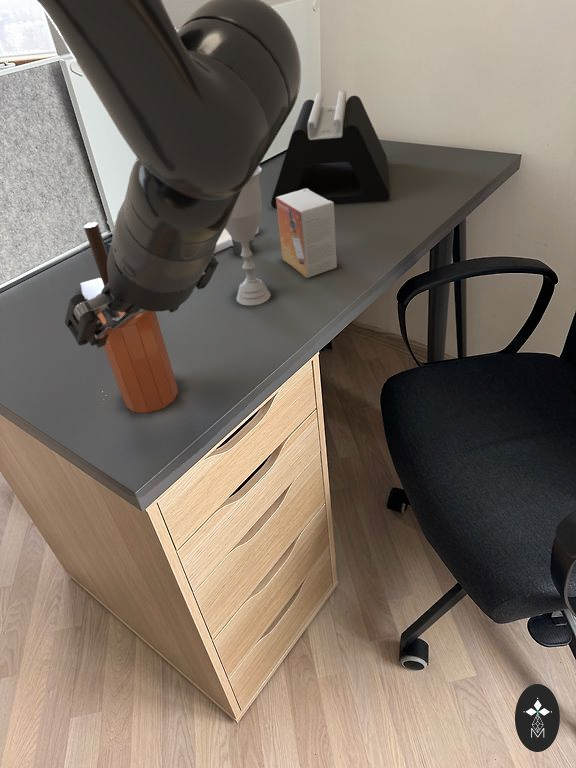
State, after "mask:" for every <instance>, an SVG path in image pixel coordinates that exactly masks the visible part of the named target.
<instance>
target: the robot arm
mask: <svg viewBox="0 0 576 768" xmlns="http://www.w3.org/2000/svg"><path fill="white" fill-rule="evenodd" d="M35 2H36V3H37V4H38V5H39V6H40V7H41V8H42V9H43V11H44V12H45V13H46V15H47V16H48V18H49V19H50V21H51V22H52V24H53V25H54V27H55V29H56V30H57V31H58V33H59V35H60V36H61V39H62V40H63V42H64V44H65V46H66V47H67V49H68V51H69V52H70V53H71V56H72V57H73V59H74V61H75V62H76V63H77V65H78V67H79V68H80V70H81V72H82V73H83V75H84V76H85V77H86V79H87V80H88V82H89V84H90V86H91V88H92V89H93V91H94V92H95V94H96V96H97V98H98V99H99V101H100V102H101V104H102V106H103V107H104V109H105V111H106V112H107V114H108V116H109V117H110V119H111V120H112V123H113V125H115V127H116V128H117V130H118V132H119V134H120V135H121V137H122V139H123V140H124V141H125V143H126V145H127V146H128V147H129V149H130V151H131V152H132V153H133V155H134V156H135V157H136V159H135V160H134V163H133V164H132V168H131V171H130V175H129V179H128V184H127V188H126V192H125V197H124V199H123V202H122V203H121V206H120V208H119V210H118V212H117V214H116V215H117V216H116V220H115V223H114V227H113V231H112V237H111V241H110V246H109V251H108V260H107V273H108V283H107V285H106V286H105V287H104V288H103V289H102V292H101V293H100V294H99V295H97V296H96V297H95V298H93V299H90V300H88V299H87V298H85V297H84V295H83V294H82V293H79V294H75V295H73V296H72V297H71V298H70V299H69V303H68V307H67V310H66V316H65V319H64V324H65V325H66V327H67V328H68V329H69V331H70V333H71V334H72V336H73V337H74V339H75V342H76V343H77V345H78V346H83V345H84V346H85V345H87V344H90V346H92V347H94V346H96V347H97V348H98V349H100V348H102V347H104V345H106V341H107V338H108V334H109V332H110V331H112V330H113V329H117V328H122V327H124V326H126V325H127V324H128V323H129V322H130V321H132V320H133V319H134V318H135V317H136V316H138V315H139V314H144V313H145V312H147V311H155V312H166V311H169V313H174V312H176V311H178V309H179V308H180V306H181V305H182V304H184V303H185V302H186V301H187V300H189V298H190V297H191V295H192V294H193V292H194V290H195V288H196V289H197V290H202V289H205V288H206V287H207V286H208V285H209V283H210V280H211V279H212V277H213V275H214V273H215V271H216V269H217V267H218V265H219V261H218V260H217V258H216V257H215V253H214V251H215V247H216V244H217V241H218V239H219V238H220V236H221V234H222V232H223V230H224V229H225V227H226V225H227V223H228V221H229V219H230V217H231V215H232V212H233V209H234V207H235V204H236V202H237V200H238V197H239V195H240V193H241V190H242V188H243V187H244V186H245V185H246V184H247V183H248V182H249V180H250V179H251V178H252V176H253V174H254V173H255V171H256V170H257V168H258V166H260V165H261V163H262V161H263V159H264V158H265V157H266V154H267V153H268V151H269V149H270V147H272V144H273V143H274V141H275V139H276V138H277V136H278V134H279V132H280V131H281V129H282V127H283V125H284V124H285V122H286V121H287V119H288V117H289V116H290V114H291V112H292V111H293V109H294V106H295V105H296V102H297V99H298V97H299V93H300V88H301V83H302V62H301V56H300V51H299V46H298V44H297V42H296V39H295V37H294V33H293V32H292V30H291V28H290V27H289V25H288V24H287V22H286V20H285V19H284V18H283V17H282V15H281V14H280V13H278V11H276V10H275V9H274V8H273V7H272V6H271V5H269V4H267V3H266V2H265V1H264V0H263V1H262V0H209V1H207V2H205V3H204V4H202V5H200V6H199V7H198V8H197V9H196V10H195V11H193V12H192V13H191V14H190V16H188V18H187V19H186V20H185V22H183V24H182V25H181V27H180V28H179V29H178V30H177V29H176V27H175V25H174V24H173V21H172V19H171V17H170V14H169V12H168V11H167V9H166V6H165V4H164V2H163V0H35ZM118 312H124V313H125V314H124V315H123V316H120V314H119V313H118ZM100 313H102V314H103V316H104V318H105V319H106V324H105V325H103V323H102V322H101V320H100V318H99V317H98V315H99V314H100Z"/></svg>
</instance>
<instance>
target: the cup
mask: <svg viewBox="0 0 576 768" xmlns="http://www.w3.org/2000/svg"><path fill="white" fill-rule="evenodd" d="M118 313H119V314H120V316H123V315H124V314H125V313H124V312H118ZM98 317H99V318H100V320H101V322H102V323H103V325H105V324H106V319H105V318H104V316H103V314H102V313H100V314H99V315H98ZM103 348H104V350H105V353H106V356H107V358H108V361H109V364H110V367H111V369H112V372H113V375H114V377H115V380H116V383H117V386H118V388H119V392H120V394H121V397H122V399H123V401H124V404H125V408H126V409H129V410H130V411H132V412H134V413H138V414H141V413H143V414H149V413H153V412H156V411H159V410H162V409H165V408H167V406H169V405H170V404H172V403H173V402H174V401H175V399H176V397H177V395H178V393H179V388H178V385H177V382H176V378H175V375H174V371H173V368H172V364H171V361H170V358H169V354H168V350H167V347H166V344H165V341H164V337H163V333H162V330H161V326H160V323H159V320H158V317H157V312H156V311H147V312H145V313H144V314H139V315H138V316H136V317H135V318H134V319H133V320H132V321H130V322H129V323H128V324H127V325H126V326H124V327H122V328H117V329H113V330H112V331H110V332H109V334H108V338H107V341H106V345H104V346H103Z"/></svg>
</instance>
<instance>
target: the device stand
mask: <svg viewBox="0 0 576 768" xmlns="http://www.w3.org/2000/svg"><path fill="white" fill-rule="evenodd" d="M324 99H325V95H324V93H323V92H317V93H316V95H315V99H307V100H305V101H304V102H303V104H302V107H301V108H300V112H299V114H298V116H297V119H296V123H295V124H294V128H293V130H292V133H291V136H290V139H289V142H288V145H287V148H286V152H285V156H284V158H283V162H282V165H281V169H280V171H279V175H278V179H277V182H276V185H275V187H274V192H273V195H272V198H271V200H270V205H271V207H272V208H274V209H277V204H276V197H278V196H281V195H285V194H288V193H292V192H295V191H299V190H302V189H306V188H308V189H309V190H310V191H312V192H314V193H316V194H318V195H319V196H321V197H323V198H325V199H327V200H330V201H332V202H333V203H334V205H345V204H360V203H361V204H362V203H375V202H376V203H377V202H378V203H379V202H387V201H388V200H389V199H390V196H391V195H390V194H391V193H390V184H389V169H388V157H387V154H386V152H385V150H384V148H383V145H382V143H381V141H380V139H379V136H378V135H377V132H376V130H375V128H374V126H373V123H372V121H371V119H370V116H369V114H368V112H367V110H366V108H365V106H364V104H363V102H362V100H361V97H359V96H358V95H351V96H349V97H348V98H347V91H346V90H344V89H343V90H339V92H338V96H337V99H336V100H337V101H336V105H328V106H323V104H324Z"/></svg>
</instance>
